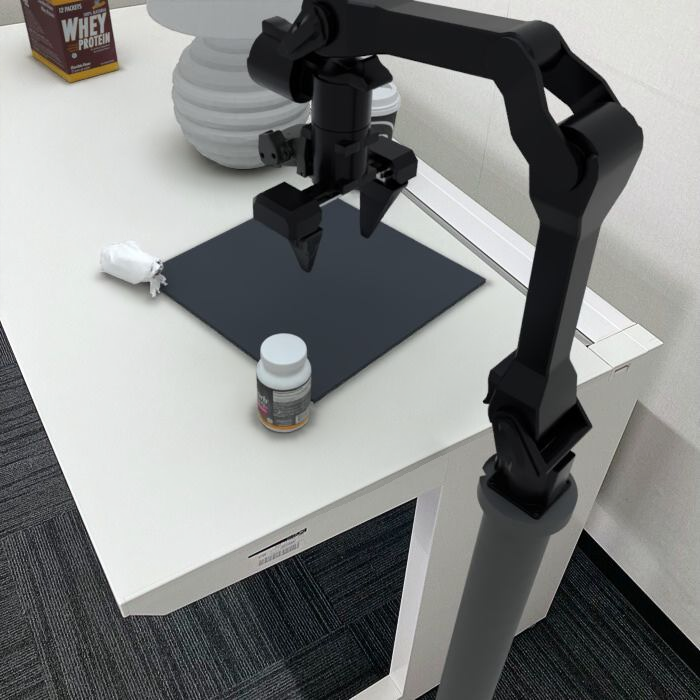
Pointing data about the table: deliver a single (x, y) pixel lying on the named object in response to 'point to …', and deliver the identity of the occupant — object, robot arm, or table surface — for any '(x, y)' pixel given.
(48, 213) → the table surface
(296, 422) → the pill bottle
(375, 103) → the coffee cup
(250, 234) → the mat
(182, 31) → the table lamp
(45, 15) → the supplement box
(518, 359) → the robot arm
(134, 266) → the white pouch
